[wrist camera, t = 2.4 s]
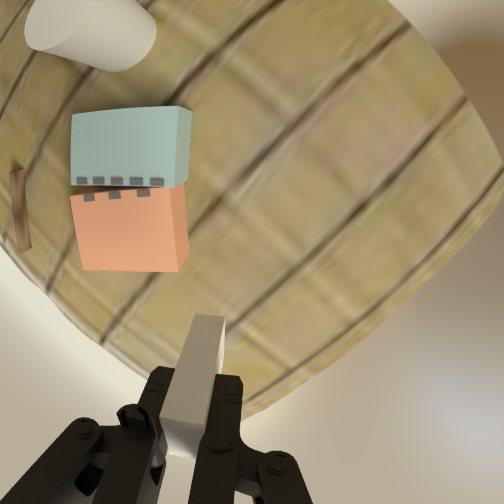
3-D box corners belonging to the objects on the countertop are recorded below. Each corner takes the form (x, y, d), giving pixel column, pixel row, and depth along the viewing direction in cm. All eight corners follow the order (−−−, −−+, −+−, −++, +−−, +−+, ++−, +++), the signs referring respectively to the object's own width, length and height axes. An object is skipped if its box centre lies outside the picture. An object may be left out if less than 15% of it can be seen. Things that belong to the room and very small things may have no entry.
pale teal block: (97, 116, 26) (71, 114, 21) (192, 111, 26) (178, 105, 21) (95, 177, 28) (69, 185, 24) (188, 179, 28) (173, 187, 24)
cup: (157, 2, 21) (111, -49, 10) (156, 62, 24) (99, 27, 13) (94, 21, 21) (32, -10, 10) (90, 80, 24) (19, 65, 13)
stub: (94, 187, 29) (69, 196, 24) (184, 179, 29) (169, 187, 24) (104, 252, 32) (82, 270, 27) (189, 252, 32) (177, 272, 27)
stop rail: (19, 169, 28) (9, 171, 26) (23, 168, 28) (14, 171, 26) (27, 246, 32) (18, 252, 30) (31, 247, 32) (23, 252, 30)
